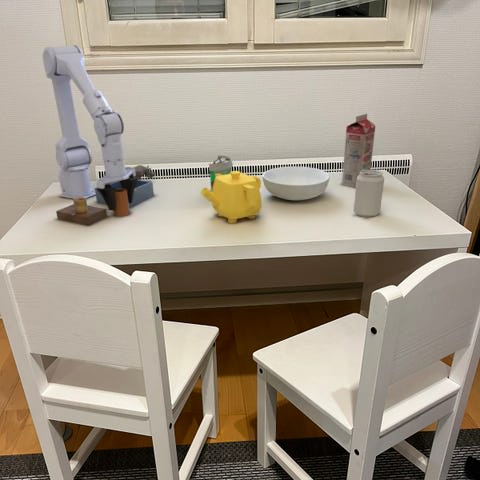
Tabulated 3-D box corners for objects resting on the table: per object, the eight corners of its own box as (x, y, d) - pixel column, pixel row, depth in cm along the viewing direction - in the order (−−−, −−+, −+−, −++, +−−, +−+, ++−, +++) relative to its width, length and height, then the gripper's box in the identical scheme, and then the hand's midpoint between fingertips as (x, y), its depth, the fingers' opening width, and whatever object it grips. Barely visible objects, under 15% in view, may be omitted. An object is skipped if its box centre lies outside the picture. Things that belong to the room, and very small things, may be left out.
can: (348, 211, 148) (352, 170, 142) (369, 207, 150) (374, 167, 144) (363, 219, 142) (367, 176, 136) (385, 215, 144) (390, 173, 138)
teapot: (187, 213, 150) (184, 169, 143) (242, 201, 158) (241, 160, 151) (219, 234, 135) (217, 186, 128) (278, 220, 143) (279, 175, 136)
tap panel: (55, 220, 147) (53, 211, 146) (77, 211, 154) (75, 202, 152) (86, 226, 142) (84, 217, 141) (107, 216, 148) (106, 208, 147)
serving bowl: (281, 211, 149) (282, 188, 146) (251, 192, 166) (251, 171, 162) (341, 200, 156) (343, 178, 153) (306, 183, 173) (307, 163, 169)
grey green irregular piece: (229, 196, 163) (227, 164, 157) (210, 195, 164) (208, 164, 159) (236, 185, 173) (236, 155, 168) (219, 184, 174) (218, 155, 169)
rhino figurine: (159, 181, 179) (157, 164, 176) (121, 187, 174) (119, 169, 171) (155, 178, 183) (153, 161, 179) (118, 184, 177) (115, 167, 174)
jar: (110, 214, 150) (107, 191, 146) (120, 210, 153) (117, 187, 150) (122, 217, 148) (119, 193, 144) (132, 212, 151) (129, 189, 148)
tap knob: (72, 212, 145) (69, 199, 143) (81, 208, 148) (79, 195, 146) (81, 213, 144) (79, 200, 142) (90, 210, 146) (88, 197, 144)
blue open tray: (97, 202, 160) (94, 188, 158) (124, 191, 170) (122, 177, 168) (127, 208, 155) (125, 193, 153) (154, 195, 165) (152, 181, 163)
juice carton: (341, 184, 171) (347, 115, 160) (351, 180, 175) (358, 112, 164) (359, 188, 167) (366, 117, 156) (369, 183, 172) (376, 114, 160)
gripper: (107, 166, 135) (114, 215, 142) (141, 155, 146) (146, 200, 153) (87, 164, 138) (95, 212, 145) (122, 152, 149) (128, 197, 156)
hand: (120, 206), depth 149 cm, fingers open, 7 cm apart
